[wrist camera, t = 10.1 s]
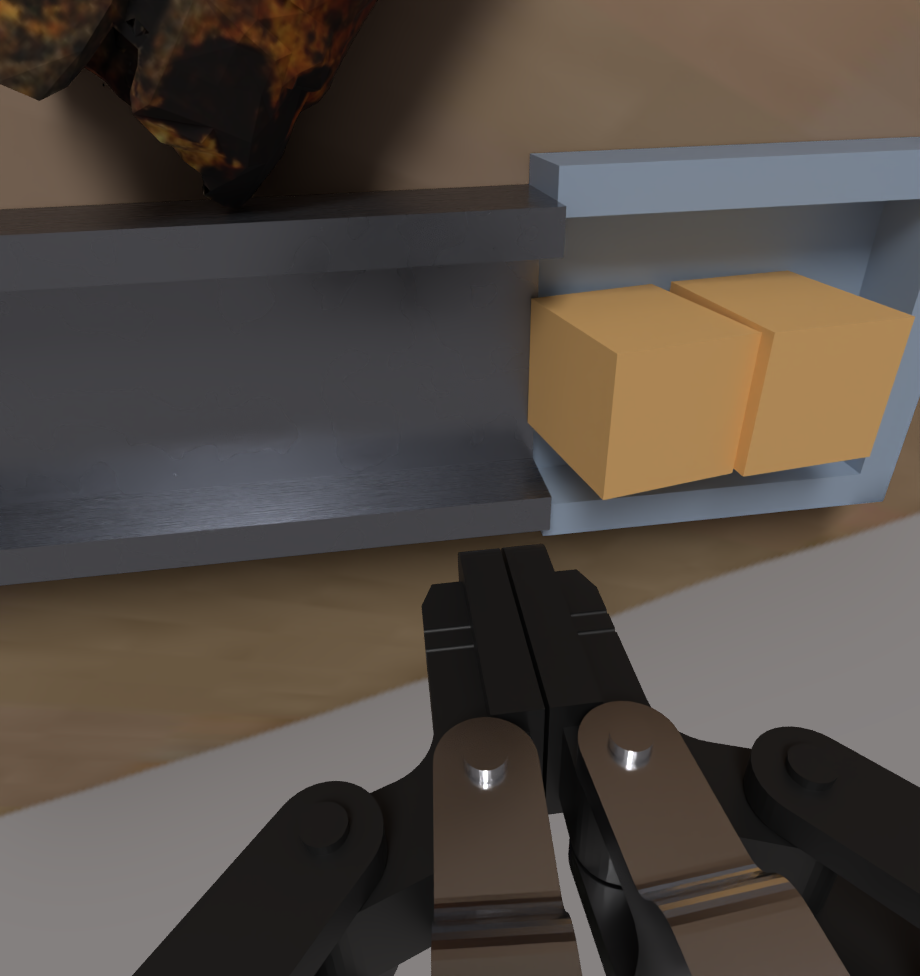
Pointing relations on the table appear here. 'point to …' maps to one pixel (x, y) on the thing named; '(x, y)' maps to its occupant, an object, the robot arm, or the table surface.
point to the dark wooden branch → (190, 70)
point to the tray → (738, 251)
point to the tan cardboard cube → (638, 386)
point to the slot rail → (267, 377)
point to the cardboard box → (808, 366)
